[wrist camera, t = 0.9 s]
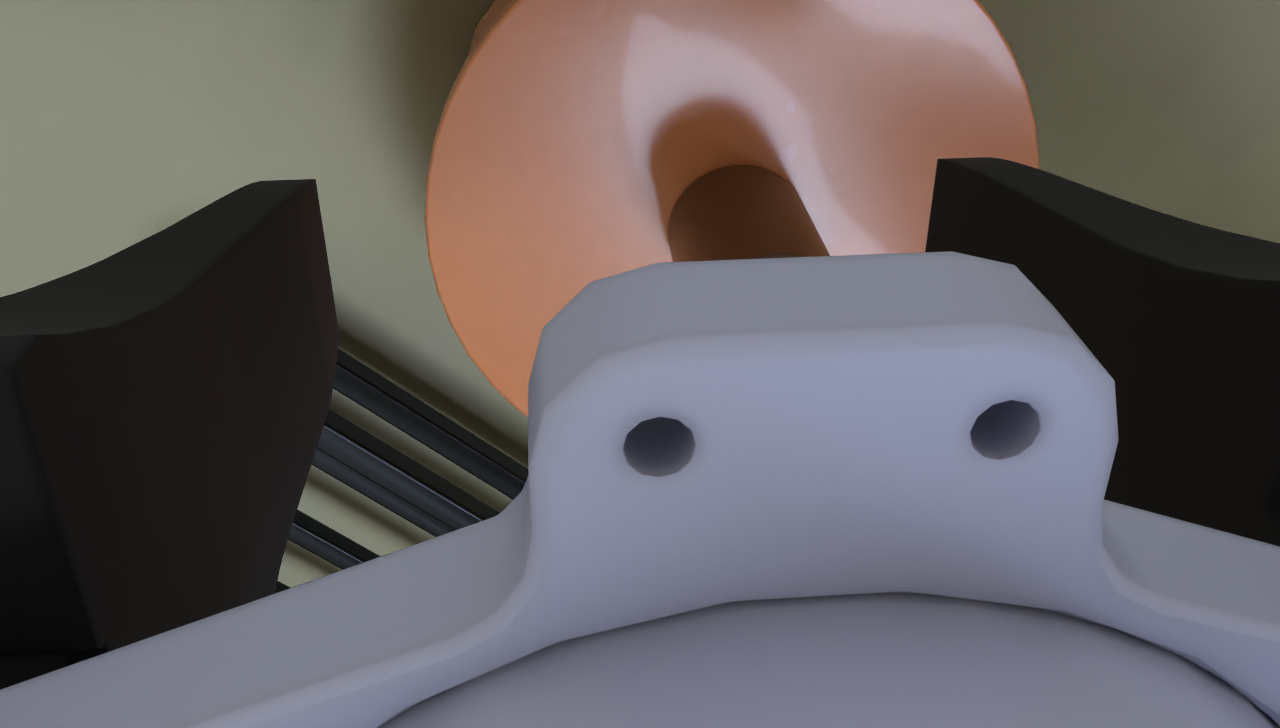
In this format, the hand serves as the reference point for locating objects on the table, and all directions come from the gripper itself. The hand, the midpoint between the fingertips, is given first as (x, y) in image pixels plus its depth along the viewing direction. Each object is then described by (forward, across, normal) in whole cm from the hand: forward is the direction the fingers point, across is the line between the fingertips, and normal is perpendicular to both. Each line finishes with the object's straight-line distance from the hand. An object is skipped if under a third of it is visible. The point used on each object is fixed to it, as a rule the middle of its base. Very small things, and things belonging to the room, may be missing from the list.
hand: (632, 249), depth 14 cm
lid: (+6, -2, +2) cm, 7 cm away
